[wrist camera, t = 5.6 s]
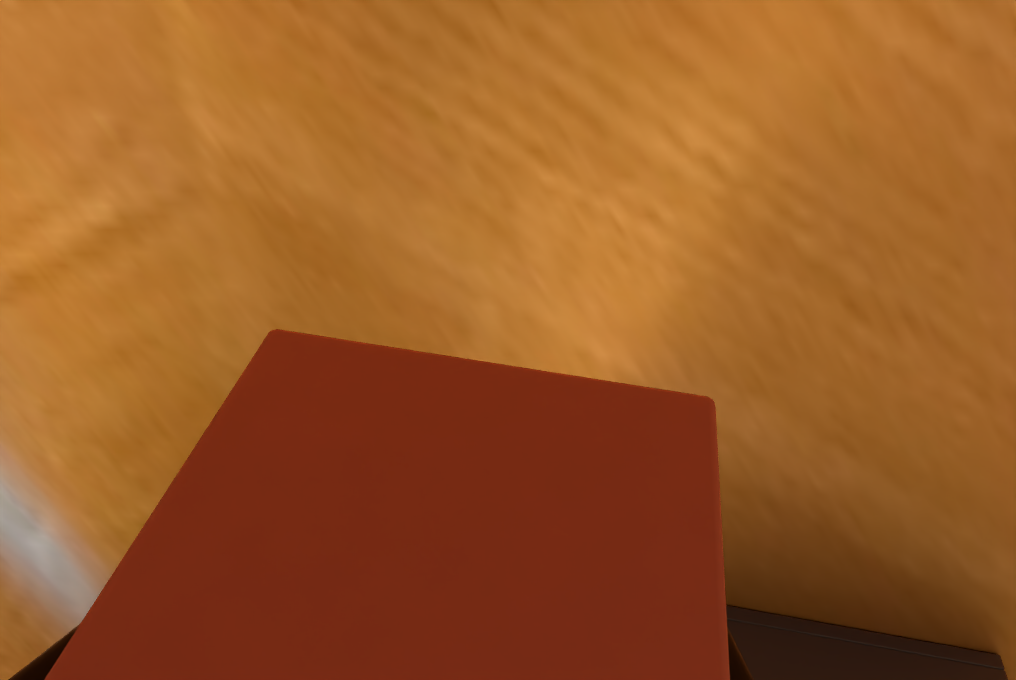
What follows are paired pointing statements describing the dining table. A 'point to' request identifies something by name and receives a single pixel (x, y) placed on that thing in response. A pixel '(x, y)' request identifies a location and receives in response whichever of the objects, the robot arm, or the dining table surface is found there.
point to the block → (424, 530)
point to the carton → (847, 652)
